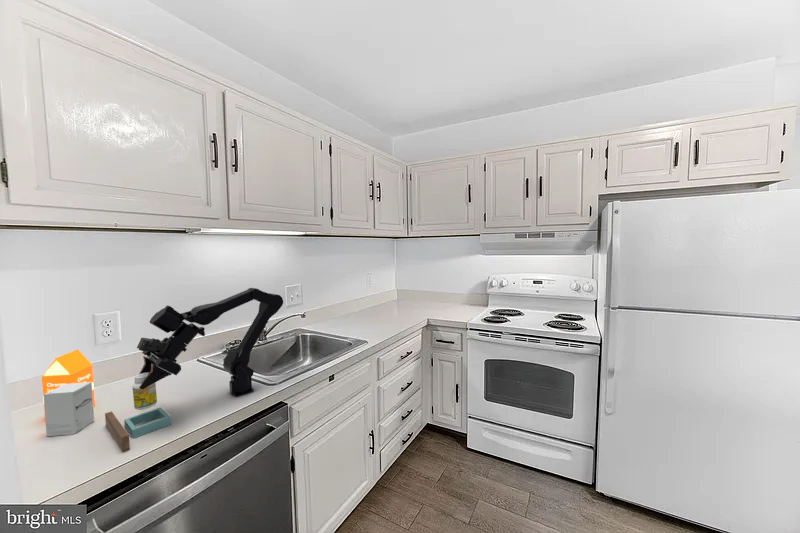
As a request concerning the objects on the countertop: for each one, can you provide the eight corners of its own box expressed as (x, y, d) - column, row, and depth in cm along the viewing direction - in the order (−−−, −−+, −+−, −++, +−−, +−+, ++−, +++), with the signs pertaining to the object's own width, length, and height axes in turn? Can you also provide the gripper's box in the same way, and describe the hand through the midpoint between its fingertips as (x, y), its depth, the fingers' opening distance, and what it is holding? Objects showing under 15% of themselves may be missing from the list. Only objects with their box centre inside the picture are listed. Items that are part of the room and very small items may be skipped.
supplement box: (75, 434, 91) (72, 392, 91) (45, 437, 90) (41, 394, 89) (95, 420, 99) (92, 381, 98) (67, 422, 97) (64, 383, 97)
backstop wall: (112, 423, 97) (111, 411, 96) (129, 449, 84) (128, 435, 84) (105, 426, 96) (105, 413, 95) (122, 452, 83) (121, 437, 83)
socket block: (161, 414, 102) (160, 407, 102) (170, 424, 96) (170, 416, 96) (124, 427, 95) (124, 419, 95) (132, 438, 89) (132, 430, 89)
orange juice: (44, 422, 98) (39, 359, 96) (69, 408, 106) (64, 349, 105) (73, 420, 99) (69, 357, 98) (95, 406, 108) (91, 348, 106)
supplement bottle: (161, 401, 98) (159, 371, 97) (146, 410, 93) (143, 379, 92) (145, 401, 99) (142, 371, 98) (129, 410, 93) (126, 378, 92)
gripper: (148, 322, 103) (105, 365, 95) (165, 332, 91) (117, 382, 83) (178, 339, 110) (140, 382, 102) (197, 351, 98) (156, 399, 90)
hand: (138, 385), depth 94 cm, fingers closed on supplement bottle, 5 cm apart
